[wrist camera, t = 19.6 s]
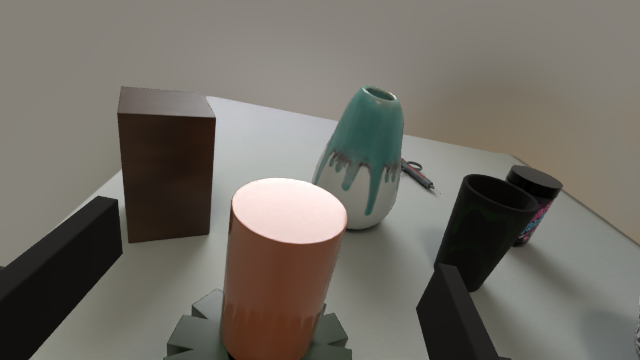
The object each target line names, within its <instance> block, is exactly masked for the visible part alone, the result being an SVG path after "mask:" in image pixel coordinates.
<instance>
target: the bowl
mask: <svg viewBox="0 0 640 360" xmlns="http://www.w3.org/2000/svg"><path fill="white" fill-rule="evenodd" d="M639 305H640V299H639ZM639 309H640V308H639ZM635 347H636V353H637V356H638V359H639V360H640V310H639V317H638V321H637V326H636V331H635Z"/></svg>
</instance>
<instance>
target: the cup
mask: <svg viewBox="0 0 640 360" xmlns="http://www.w3.org/2000/svg"><path fill="white" fill-rule="evenodd" d="M539 209H540V207H539V204H538V202H537V201H536V200H535V198H533V197H532V196H531V195H530V194H528V193H527V192H525V191H524V190H522V189H520V188H518V187H517V186H515V185H512V184H510V183H508V182H506V181H503V180H500V179H497V178H494V177H491V176H486V175H480V174H471V175H467V176H465V177H464V179H463V182H462V184H461V187H460V190H459V193H458V196H457V199H456V202H455V205H454V208H453V211H452V214H451V216H450V219H449V222H448V225H447V228H446V231H445V234H444V237H443V240H442V243H441V246H440V248H439V251H438V254H437V257H436V260H435V263H434V270H435V269H436V267H437V265H438V263H441V264H446V265H451V266H456V267H457V269H458V271H459V273H460V275H461V278H462V280H463V282H464V284H465V286H466V288H467V290H468V292H474V291H476V290H478V289H479V287H480V286H481V285H482V284H483V282H484V281H485V280H486V278H487V277H488V276H489V274H490V273H491V272H492V271H493V269H494V268H495V267H496V265H497V264H498V263H499V262H500V260H501V259H502V258H503V256H504V255H505V254H506V253H507V251H508V250H509V249H510V247H511V246H512V245H513V244H514V242H515V241H516V240H517V238H518V237H519V236H520V234H521V233H522V232H523V231H524V229H525V228H526V227H527V225H528V224H529V223H530V222H531V220H532V219H533V218H534V216H535V215H536V214H537V213H538V211H539Z"/></svg>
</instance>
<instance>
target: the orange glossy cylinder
mask: <svg viewBox="0 0 640 360" xmlns="http://www.w3.org/2000/svg"><path fill="white" fill-rule="evenodd" d="M347 223H348V215H347V212H346V209H345V207H344V206H343V204H342V203H341V202H340V201H339V200H338V199H337V198H336V197H335V196H334V195H332V194H331V193H329V192H328V191H326V190H324V189H322V188H320V187H318V186H316V185H313V184H310V183H307V182H304V181H300V180H295V179H288V178H267V179H260V180H256V181H253V182H250V183H248V184H246V185H244V186H242V187H241V188H239V189H238V190H237V191H236V193H235V194H234V196H233V198H232V201H231V210H230V221H229V232H228V243H227V254H226V265H225V276H224V287H223V298H222V309H221V320H220V335H221V339H222V342H223V345H224V346H225V348H226V350H227V351H228V352H229V354H230V355H231V356H232V357H233V358H234V359H235V360H300V359H301V358H302V357H303V356H304V355H305V354H306V353H307V351H308V350H309V348H310V346H311V344H312V342H313V339H314V335H315V332H316V328H317V325H318V322H319V318H320V315H321V311H322V308H323V305H324V301H325V298H326V295H327V291H328V288H329V284H330V281H331V278H332V274H333V271H334V267H335V264H336V261H337V257H338V254H339V251H340V247H341V244H342V240H343V237H344V234H345V230H346V227H347Z"/></svg>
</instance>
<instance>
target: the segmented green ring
mask: <svg viewBox="0 0 640 360" xmlns="http://www.w3.org/2000/svg"><path fill="white" fill-rule="evenodd" d="M222 298H223V292H222V291H220V290H219V289H218V288H217V289H215V290H214V291H212V292H211V293H209V294H208V295H206V296H205V297H203V298H202V299H200V300H199V301H197V302H196V303H194V304H193V305H192V316H188V315H183V316H182V317H181V319H180V321H179V323H178V325H177V326H176V328H175V330H174V332H173V334H172V335H171V337H170V339H169V341H168V343H167V357H164V358H163V360H229V358H230V356H231V355H230V354H229V352H228V351H227V350H226V348H225V346H224V345H223V342H222V339H221V335H220V320H221V309H222ZM325 308H326V304H325V303H324V305H323V308H322V311H321V315H320V318H319V322H318V325H317V328H316V332H315V335H314V339H313V342H312V344H311V346H310V348H309V350H308V351H307V353H306V354H305V355H304V356H303V357H302V358H301V359H300V360H352V350H351V349H347V348H345V345H346V343H347V340H348V336H347V335H346V333H345V331H344V329H343V328H342V326H341V324H340V322H339V320H338V319H337V317H336V315H335V313H331V314H327V315H324V311H325ZM323 315H324V316H323Z"/></svg>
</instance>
